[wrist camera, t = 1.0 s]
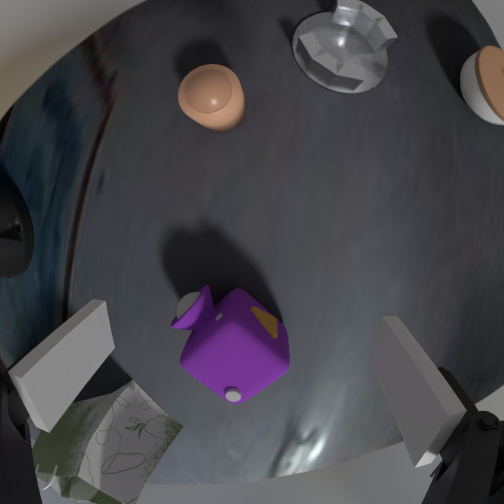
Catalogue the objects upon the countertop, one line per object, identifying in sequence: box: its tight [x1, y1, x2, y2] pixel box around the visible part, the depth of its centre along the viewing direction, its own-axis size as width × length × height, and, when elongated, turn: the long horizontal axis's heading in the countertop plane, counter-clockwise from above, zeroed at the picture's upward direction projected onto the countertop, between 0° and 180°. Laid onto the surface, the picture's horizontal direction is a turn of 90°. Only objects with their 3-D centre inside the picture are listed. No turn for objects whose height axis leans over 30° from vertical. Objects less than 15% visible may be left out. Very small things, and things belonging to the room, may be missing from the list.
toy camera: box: [171, 285, 290, 404], centre depth 33 cm, size 11×14×10 cm
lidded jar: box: [460, 46, 504, 125], centre depth 22 cm, size 11×11×9 cm
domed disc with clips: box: [292, 0, 397, 94], centre depth 25 cm, size 12×12×5 cm
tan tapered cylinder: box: [178, 64, 247, 132], centre depth 27 cm, size 6×6×8 cm
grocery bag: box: [32, 380, 183, 504], centre depth 35 cm, size 32×14×23 cm, turn 123°
